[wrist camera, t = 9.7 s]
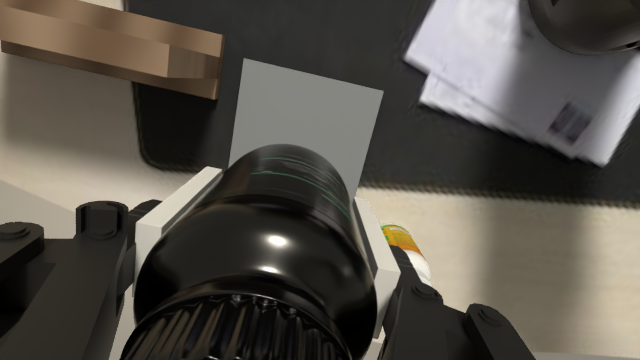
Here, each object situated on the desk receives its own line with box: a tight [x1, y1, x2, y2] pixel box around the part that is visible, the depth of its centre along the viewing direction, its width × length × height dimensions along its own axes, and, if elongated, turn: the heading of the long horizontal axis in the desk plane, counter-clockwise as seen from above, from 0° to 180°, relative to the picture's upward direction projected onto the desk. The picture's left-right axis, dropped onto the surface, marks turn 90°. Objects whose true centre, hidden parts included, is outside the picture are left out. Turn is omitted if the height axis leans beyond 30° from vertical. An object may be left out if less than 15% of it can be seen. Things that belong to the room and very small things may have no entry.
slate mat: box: [228, 58, 384, 203], centre depth 33 cm, size 14×14×1 cm
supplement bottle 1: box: [119, 144, 378, 360], centre depth 11 cm, size 7×7×12 cm
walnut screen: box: [0, 0, 226, 100], centre depth 25 cm, size 20×6×12 cm, turn 77°
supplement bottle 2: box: [380, 223, 433, 288], centre depth 33 cm, size 5×5×10 cm
